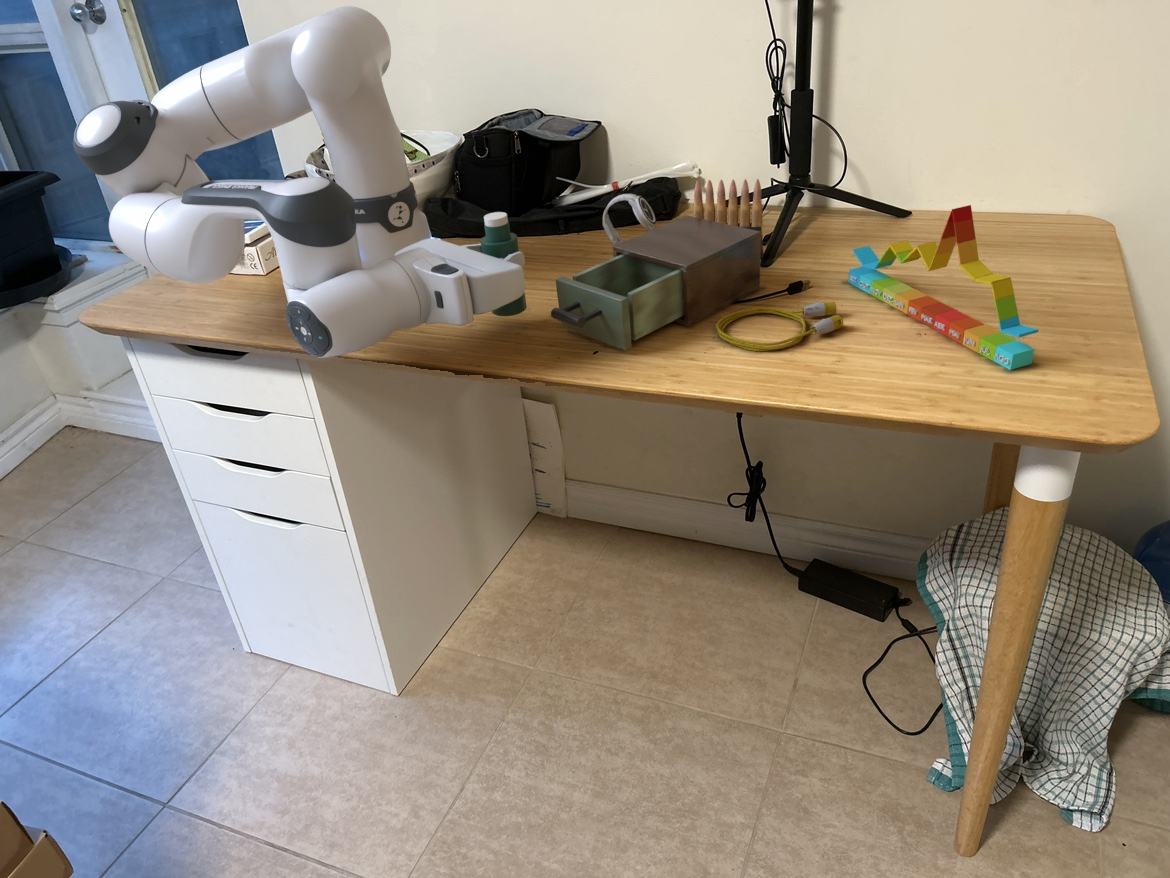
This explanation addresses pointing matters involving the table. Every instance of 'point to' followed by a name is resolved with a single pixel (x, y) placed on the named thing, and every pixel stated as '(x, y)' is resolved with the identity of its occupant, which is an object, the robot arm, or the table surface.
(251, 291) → the table surface
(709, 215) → the ammunition clip
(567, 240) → the table surface
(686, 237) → the cabinet
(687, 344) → the table surface
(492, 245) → the glue bottle
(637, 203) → the watch
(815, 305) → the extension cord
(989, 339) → the chart
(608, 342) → the drawer
